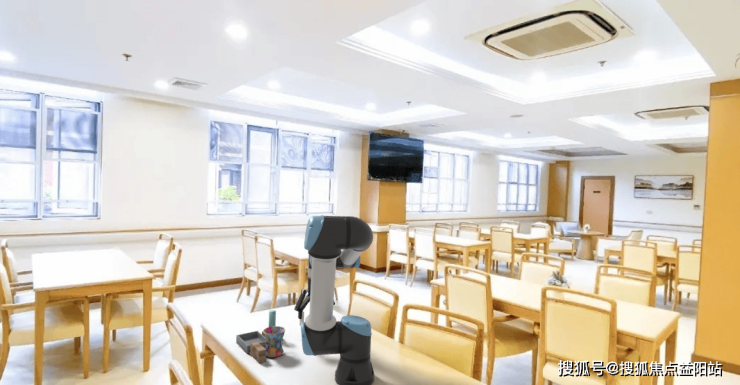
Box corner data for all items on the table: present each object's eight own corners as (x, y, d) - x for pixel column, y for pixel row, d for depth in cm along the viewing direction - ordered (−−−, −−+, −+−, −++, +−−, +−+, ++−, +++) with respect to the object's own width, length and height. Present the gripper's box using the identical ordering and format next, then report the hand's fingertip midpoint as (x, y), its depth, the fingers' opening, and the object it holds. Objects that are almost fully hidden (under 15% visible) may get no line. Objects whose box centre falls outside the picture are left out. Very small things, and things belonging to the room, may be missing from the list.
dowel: (276, 338, 182) (277, 311, 182) (269, 340, 180) (270, 312, 180) (273, 336, 185) (274, 309, 184) (267, 337, 183) (267, 310, 183)
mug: (275, 361, 160) (276, 335, 159) (257, 356, 163) (258, 331, 163) (292, 350, 171) (293, 326, 170) (275, 345, 174) (276, 322, 174)
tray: (269, 348, 171) (269, 340, 171) (246, 353, 165) (247, 345, 165) (257, 337, 182) (257, 330, 182) (236, 342, 176) (236, 335, 176)
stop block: (265, 361, 159) (266, 349, 159) (258, 363, 157) (259, 351, 157) (256, 352, 167) (257, 341, 167) (250, 354, 165) (250, 342, 165)
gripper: (334, 273, 188) (333, 316, 188) (287, 278, 173) (286, 325, 173) (343, 275, 182) (341, 320, 182) (295, 281, 167) (293, 330, 167)
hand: (314, 323), depth 177 cm, fingers open, 13 cm apart
